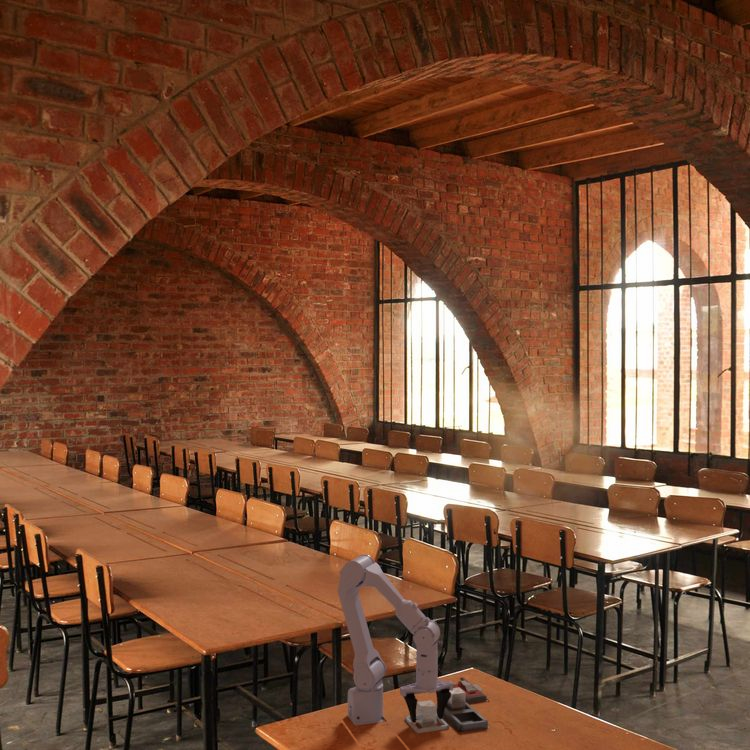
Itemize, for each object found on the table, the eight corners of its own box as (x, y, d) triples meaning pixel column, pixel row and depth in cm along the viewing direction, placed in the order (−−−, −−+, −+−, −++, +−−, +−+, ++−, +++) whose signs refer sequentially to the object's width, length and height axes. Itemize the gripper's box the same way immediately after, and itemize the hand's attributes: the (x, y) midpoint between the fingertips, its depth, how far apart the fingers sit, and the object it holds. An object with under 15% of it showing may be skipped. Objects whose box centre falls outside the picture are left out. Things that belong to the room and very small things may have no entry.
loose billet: (422, 730, 219) (422, 707, 219) (416, 724, 223) (416, 701, 223) (436, 728, 220) (436, 705, 220) (430, 722, 224) (430, 700, 224)
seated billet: (452, 716, 227) (452, 694, 227) (446, 710, 231) (446, 689, 231) (465, 714, 228) (465, 692, 228) (459, 708, 232) (459, 687, 232)
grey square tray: (417, 737, 216) (417, 730, 216) (404, 723, 224) (404, 716, 224) (448, 733, 219) (448, 725, 219) (435, 719, 227) (435, 712, 227)
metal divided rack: (458, 737, 216) (458, 725, 216) (435, 713, 232) (435, 702, 232) (490, 732, 219) (490, 721, 219) (464, 709, 234) (464, 698, 234)
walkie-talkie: (496, 706, 238) (464, 682, 256) (496, 691, 238) (464, 668, 256) (469, 710, 234) (438, 685, 253) (469, 695, 234) (438, 671, 253)
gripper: (406, 676, 215) (406, 729, 216) (458, 670, 220) (457, 721, 220) (397, 667, 222) (397, 718, 222) (447, 661, 227) (447, 711, 227)
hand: (426, 719), depth 222 cm, fingers open, 7 cm apart
